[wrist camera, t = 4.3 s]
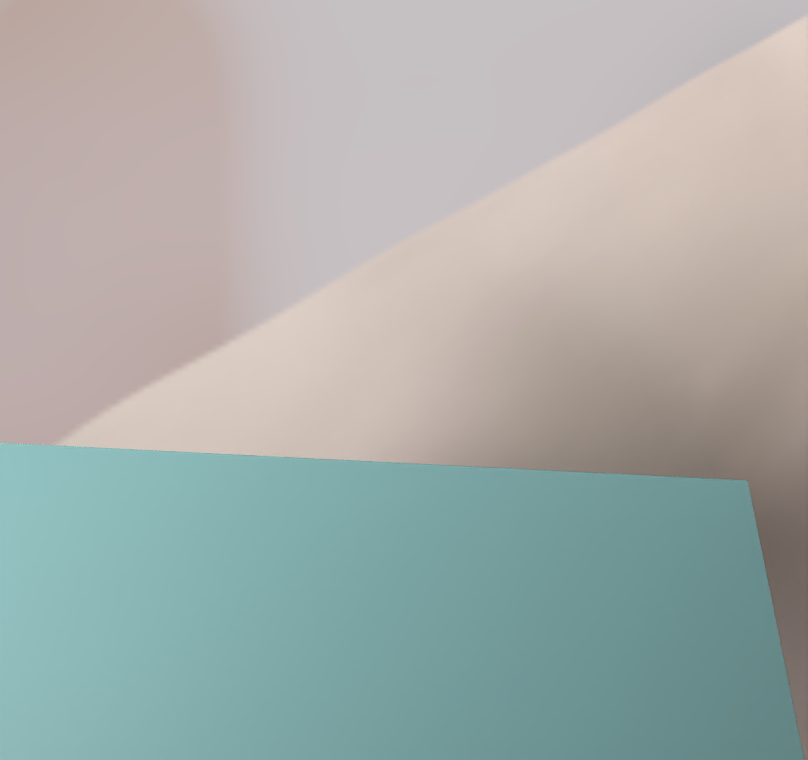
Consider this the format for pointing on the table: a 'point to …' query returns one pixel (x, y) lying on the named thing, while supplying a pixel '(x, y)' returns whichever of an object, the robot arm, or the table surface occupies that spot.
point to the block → (379, 612)
